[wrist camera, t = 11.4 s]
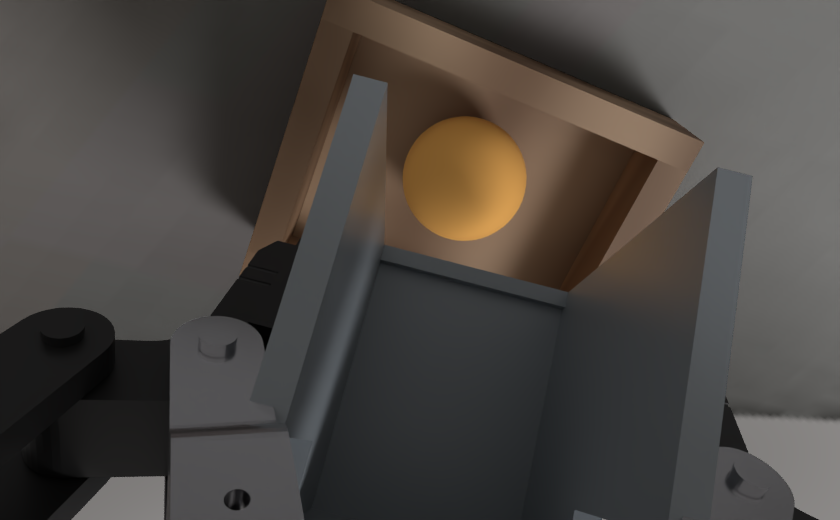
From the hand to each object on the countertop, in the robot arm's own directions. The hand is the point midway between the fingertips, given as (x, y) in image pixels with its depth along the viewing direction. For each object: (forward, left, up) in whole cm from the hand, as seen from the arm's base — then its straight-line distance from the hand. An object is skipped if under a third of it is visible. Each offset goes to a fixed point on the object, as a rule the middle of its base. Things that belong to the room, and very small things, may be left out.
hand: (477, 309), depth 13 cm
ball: (0, 0, -9) cm, 9 cm away
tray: (0, +1, -12) cm, 12 cm away
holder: (-1, +4, -2) cm, 5 cm away
